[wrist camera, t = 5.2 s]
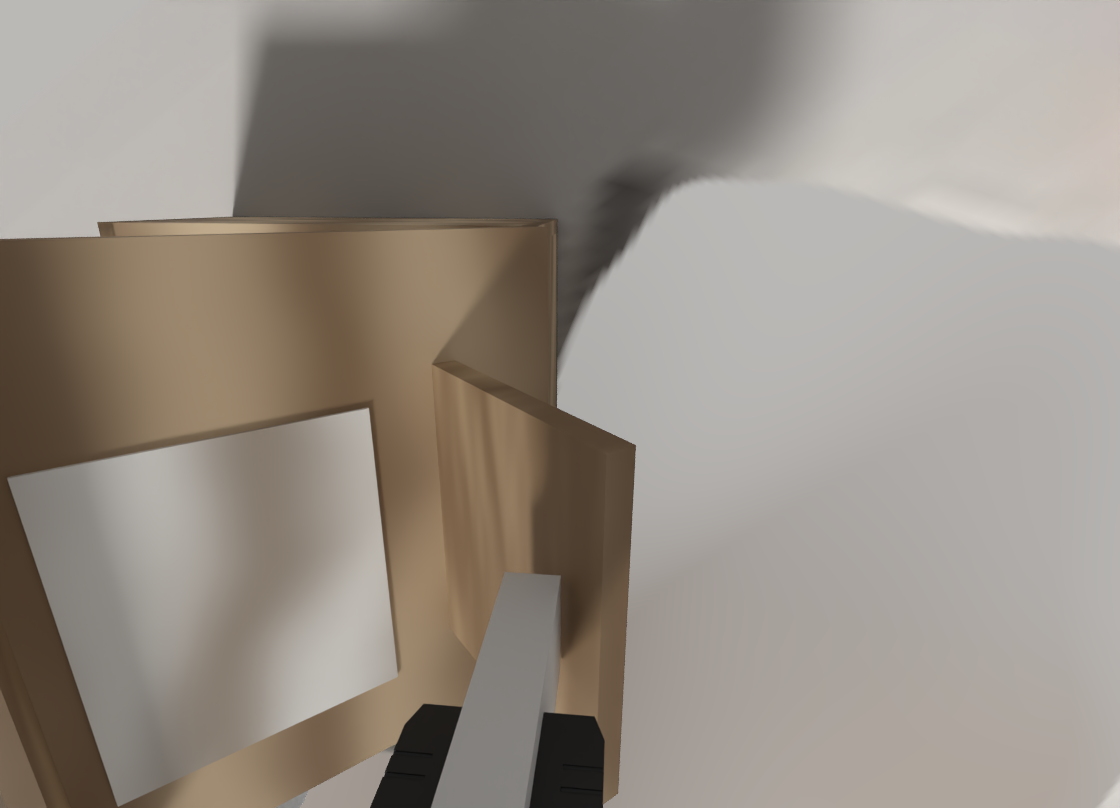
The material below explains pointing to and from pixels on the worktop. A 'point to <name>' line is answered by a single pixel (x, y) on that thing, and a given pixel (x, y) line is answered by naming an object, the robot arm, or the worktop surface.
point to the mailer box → (354, 224)
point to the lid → (281, 505)
